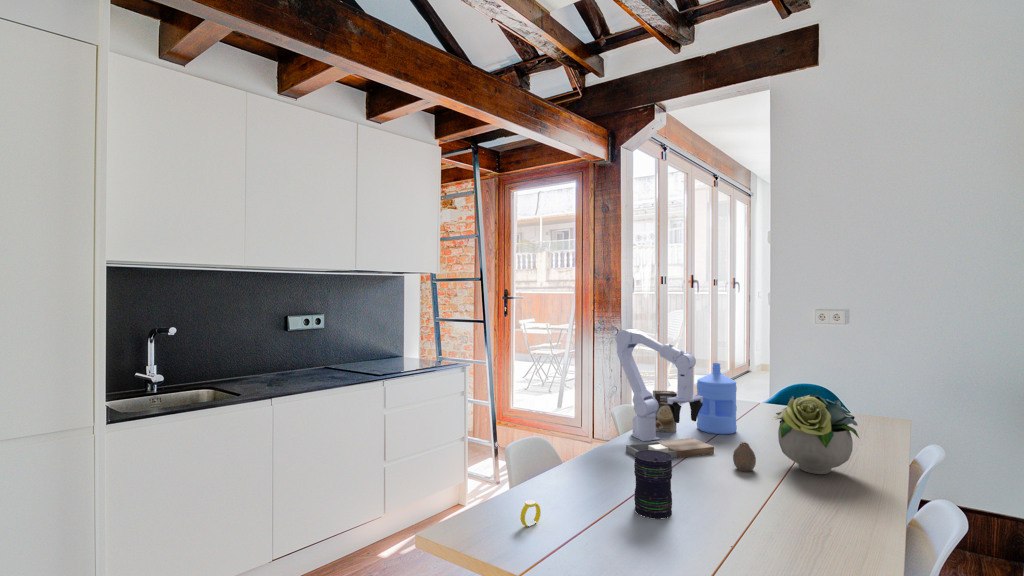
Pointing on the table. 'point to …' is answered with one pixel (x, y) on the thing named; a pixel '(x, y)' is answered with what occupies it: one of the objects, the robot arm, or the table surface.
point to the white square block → (658, 448)
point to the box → (644, 446)
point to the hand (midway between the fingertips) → (685, 421)
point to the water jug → (717, 403)
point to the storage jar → (653, 484)
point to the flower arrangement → (816, 433)
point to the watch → (527, 504)
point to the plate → (688, 447)
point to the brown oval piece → (744, 457)
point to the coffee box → (664, 411)
